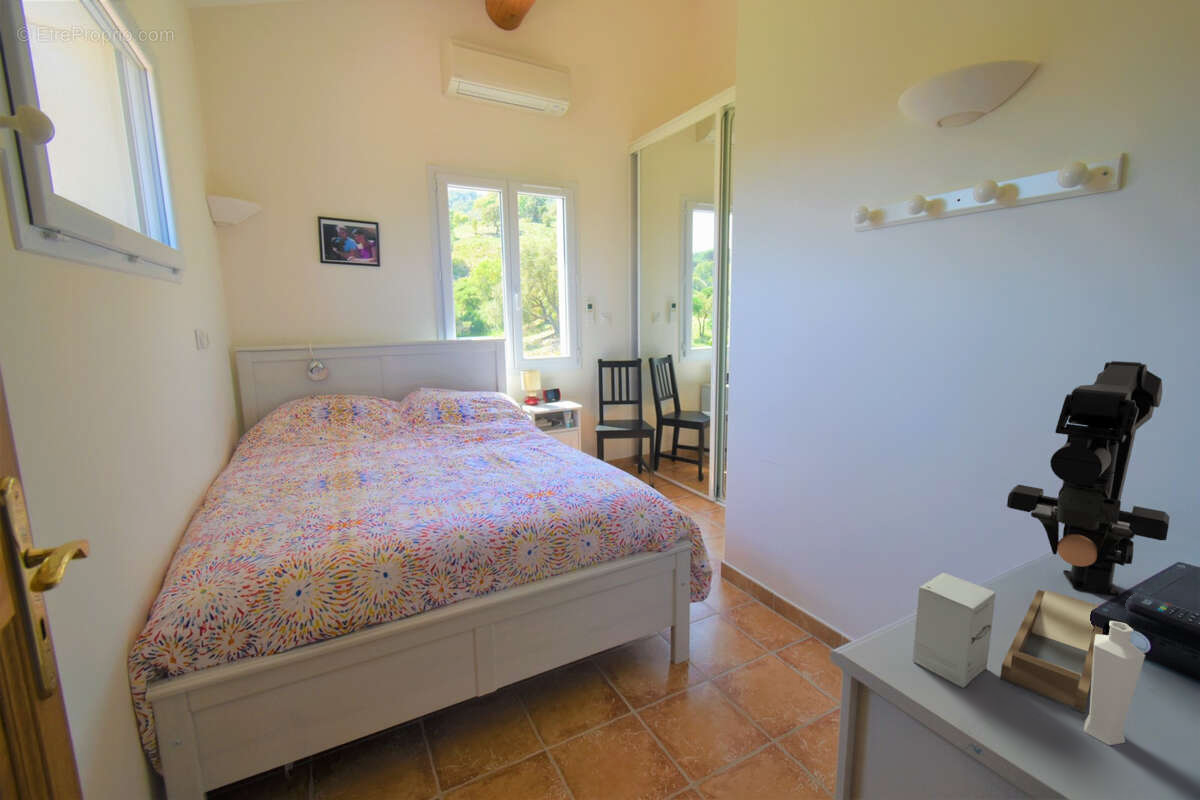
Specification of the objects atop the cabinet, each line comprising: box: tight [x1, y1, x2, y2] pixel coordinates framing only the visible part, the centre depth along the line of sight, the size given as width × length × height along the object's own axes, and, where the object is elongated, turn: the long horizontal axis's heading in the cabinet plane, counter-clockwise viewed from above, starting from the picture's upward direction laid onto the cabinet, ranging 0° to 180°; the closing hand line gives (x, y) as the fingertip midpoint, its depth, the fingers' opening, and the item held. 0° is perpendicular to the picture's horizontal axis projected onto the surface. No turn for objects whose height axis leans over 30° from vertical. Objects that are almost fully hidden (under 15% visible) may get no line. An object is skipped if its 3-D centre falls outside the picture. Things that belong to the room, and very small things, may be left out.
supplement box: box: [912, 572, 996, 689], centre depth 78 cm, size 7×7×13 cm
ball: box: [1057, 535, 1098, 566], centre depth 86 cm, size 5×5×5 cm
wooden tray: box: [999, 589, 1104, 714], centre depth 81 cm, size 27×9×5 cm, turn 132°
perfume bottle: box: [1083, 620, 1146, 746], centre depth 65 cm, size 5×4×15 cm
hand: (1076, 558), depth 86 cm, fingers closed on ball, 5 cm apart
